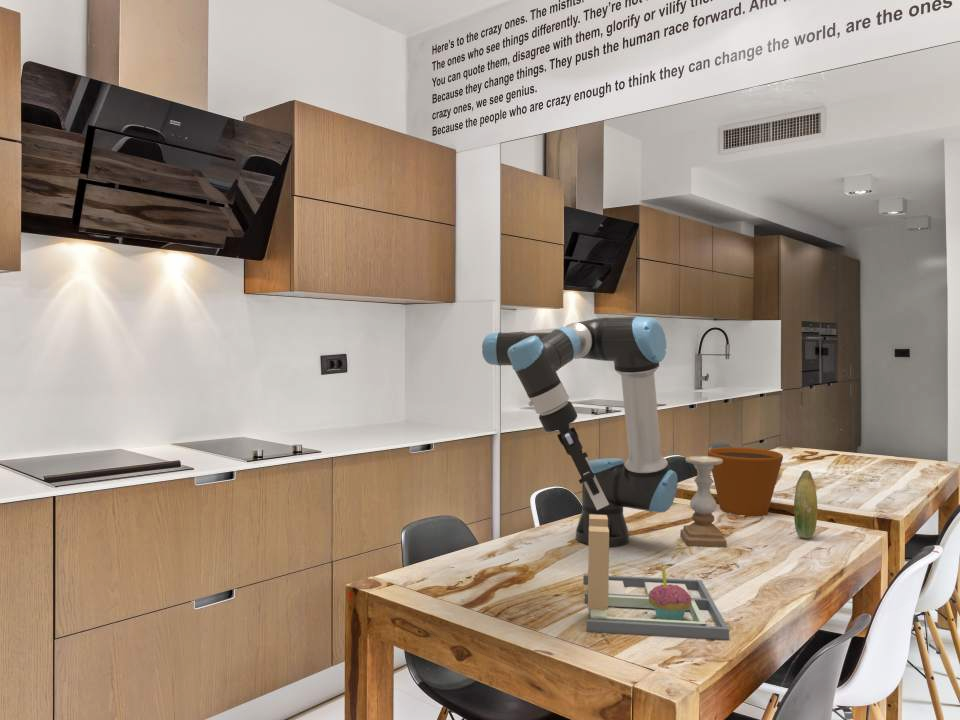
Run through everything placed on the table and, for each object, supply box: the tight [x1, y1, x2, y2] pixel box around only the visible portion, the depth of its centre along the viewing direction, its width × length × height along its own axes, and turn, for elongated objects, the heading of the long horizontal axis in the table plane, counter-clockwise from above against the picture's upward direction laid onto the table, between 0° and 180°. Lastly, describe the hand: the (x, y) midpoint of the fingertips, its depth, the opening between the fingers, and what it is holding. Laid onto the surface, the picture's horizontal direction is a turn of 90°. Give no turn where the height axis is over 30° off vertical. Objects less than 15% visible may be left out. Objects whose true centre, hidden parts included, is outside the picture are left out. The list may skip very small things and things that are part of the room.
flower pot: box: [707, 446, 784, 517], centre depth 237 cm, size 24×24×20 cm
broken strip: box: [589, 514, 692, 598], centre depth 157 cm, size 22×10×17 cm, turn 83°
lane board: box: [582, 573, 730, 641], centre depth 150 cm, size 27×28×2 cm
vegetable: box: [793, 469, 818, 540], centre depth 204 cm, size 6×6×20 cm
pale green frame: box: [587, 526, 707, 626], centre depth 144 cm, size 22×13×18 cm, turn 83°
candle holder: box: [679, 455, 728, 548], centre depth 200 cm, size 11×11×24 cm
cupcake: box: [649, 563, 692, 621], centre depth 143 cm, size 9×8×12 cm
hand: (598, 496), depth 148 cm, fingers open, 13 cm apart
